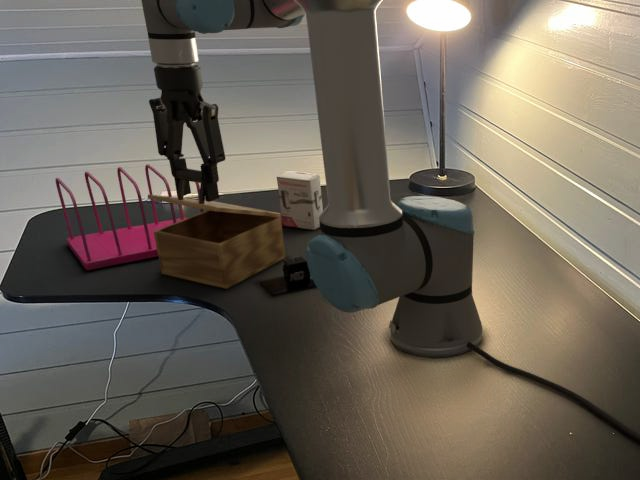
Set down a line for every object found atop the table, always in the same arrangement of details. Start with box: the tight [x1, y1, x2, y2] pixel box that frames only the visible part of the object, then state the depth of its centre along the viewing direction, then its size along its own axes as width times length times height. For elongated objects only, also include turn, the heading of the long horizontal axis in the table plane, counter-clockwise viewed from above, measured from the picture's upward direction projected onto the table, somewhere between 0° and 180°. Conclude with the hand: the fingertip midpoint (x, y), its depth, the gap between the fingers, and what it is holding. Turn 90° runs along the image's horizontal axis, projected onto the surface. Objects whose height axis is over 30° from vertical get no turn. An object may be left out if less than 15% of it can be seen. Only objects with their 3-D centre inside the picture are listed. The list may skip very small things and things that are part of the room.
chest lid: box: [147, 167, 282, 218], centre depth 140 cm, size 18×16×7 cm
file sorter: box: [55, 164, 205, 271], centre depth 151 cm, size 17×25×16 cm
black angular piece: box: [260, 256, 317, 297], centre depth 139 cm, size 12×7×5 cm, turn 123°
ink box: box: [276, 170, 324, 231], centre depth 166 cm, size 9×5×12 cm, turn 73°
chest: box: [153, 210, 286, 290], centre depth 145 cm, size 18×16×9 cm
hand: (198, 196), depth 136 cm, fingers closed on chest lid, 6 cm apart
